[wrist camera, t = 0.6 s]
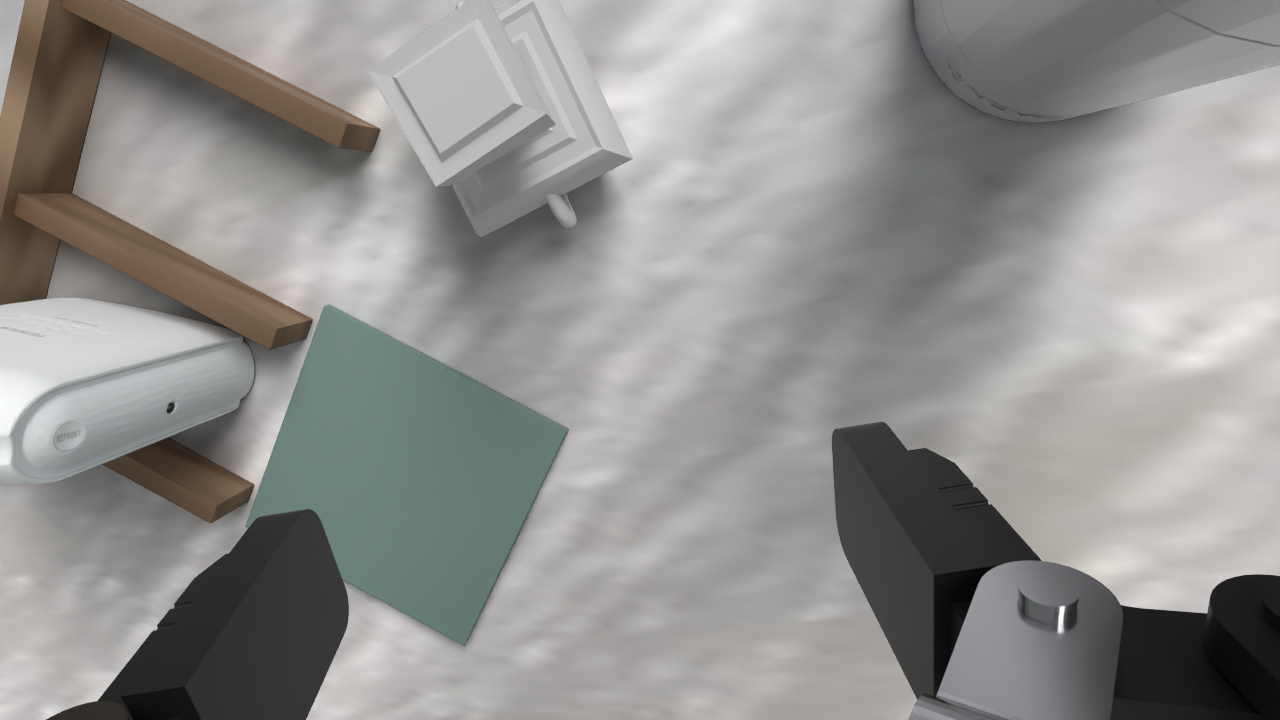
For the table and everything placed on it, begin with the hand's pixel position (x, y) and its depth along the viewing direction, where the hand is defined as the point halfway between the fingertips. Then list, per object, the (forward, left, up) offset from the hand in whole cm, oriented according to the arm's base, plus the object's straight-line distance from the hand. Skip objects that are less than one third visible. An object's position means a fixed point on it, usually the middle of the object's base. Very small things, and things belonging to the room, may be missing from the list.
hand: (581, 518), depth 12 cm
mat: (+13, -9, -20) cm, 25 cm away
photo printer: (+13, -22, -20) cm, 32 cm away
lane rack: (+8, -22, -20) cm, 31 cm away
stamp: (-4, -9, -20) cm, 22 cm away
